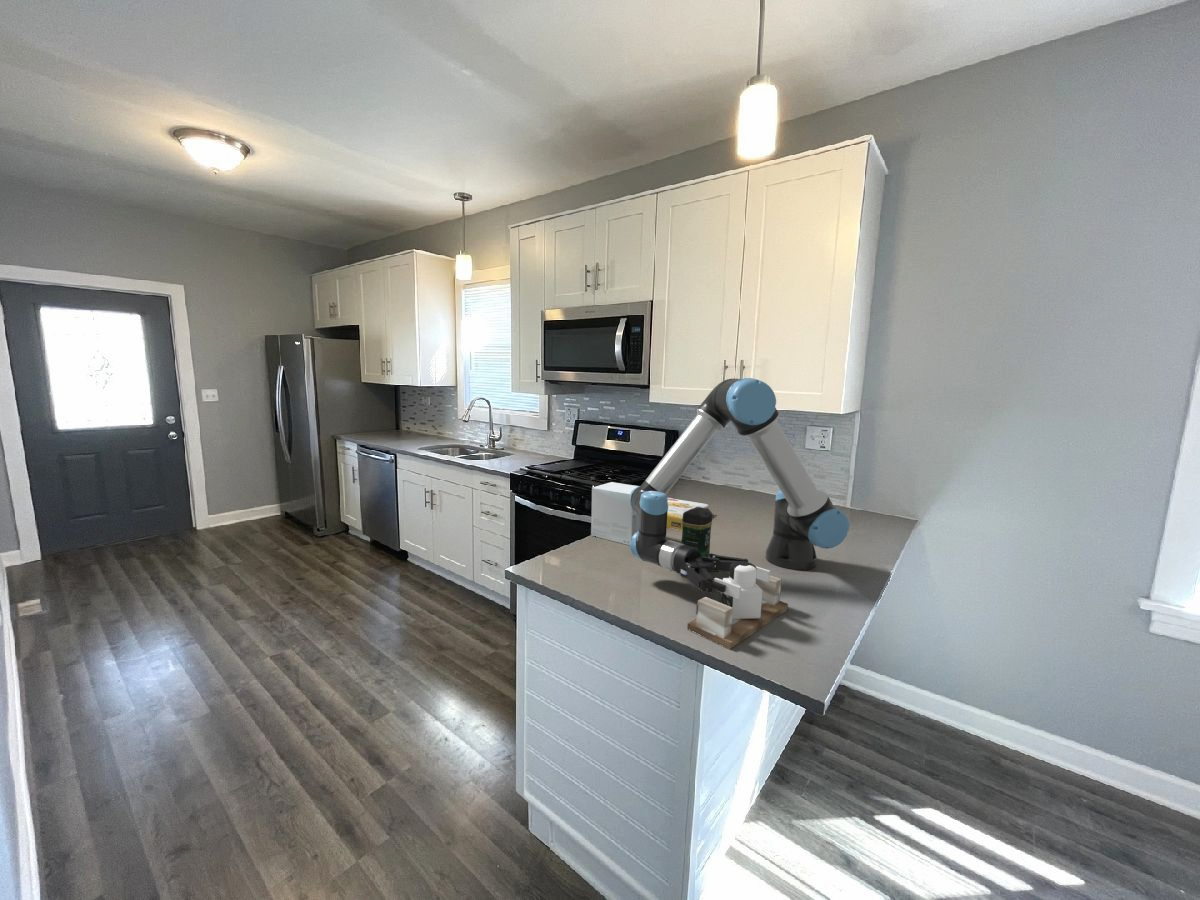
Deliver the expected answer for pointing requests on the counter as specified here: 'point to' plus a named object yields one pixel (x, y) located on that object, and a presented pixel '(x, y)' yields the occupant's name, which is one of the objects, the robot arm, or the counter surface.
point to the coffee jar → (697, 529)
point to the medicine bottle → (744, 591)
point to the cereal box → (679, 511)
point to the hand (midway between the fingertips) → (755, 584)
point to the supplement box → (613, 513)
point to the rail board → (729, 632)
